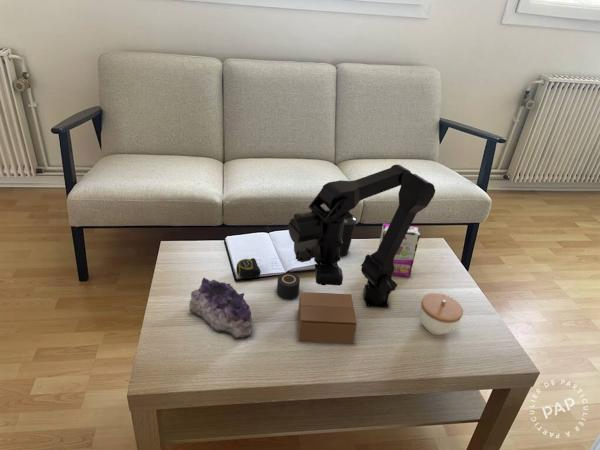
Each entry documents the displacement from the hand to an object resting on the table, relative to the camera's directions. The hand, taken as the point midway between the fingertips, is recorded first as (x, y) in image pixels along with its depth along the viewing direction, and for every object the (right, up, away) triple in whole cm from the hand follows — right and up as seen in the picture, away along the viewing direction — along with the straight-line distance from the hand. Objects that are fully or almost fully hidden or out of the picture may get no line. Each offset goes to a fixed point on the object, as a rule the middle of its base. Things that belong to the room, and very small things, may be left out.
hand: (323, 284), depth 108 cm
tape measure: (-22, +1, +21) cm, 30 cm away
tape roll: (-10, -4, +14) cm, 18 cm away
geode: (-26, -9, +3) cm, 28 cm away
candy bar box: (+24, 0, +27) cm, 36 cm away
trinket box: (+31, -13, +6) cm, 34 cm away
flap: (+1, -5, +2) cm, 5 cm away
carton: (0, -12, +3) cm, 12 cm away
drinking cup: (+8, +6, +34) cm, 36 cm away
